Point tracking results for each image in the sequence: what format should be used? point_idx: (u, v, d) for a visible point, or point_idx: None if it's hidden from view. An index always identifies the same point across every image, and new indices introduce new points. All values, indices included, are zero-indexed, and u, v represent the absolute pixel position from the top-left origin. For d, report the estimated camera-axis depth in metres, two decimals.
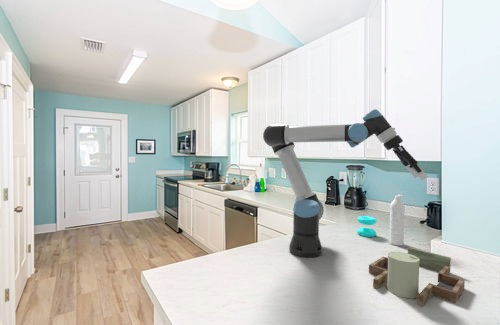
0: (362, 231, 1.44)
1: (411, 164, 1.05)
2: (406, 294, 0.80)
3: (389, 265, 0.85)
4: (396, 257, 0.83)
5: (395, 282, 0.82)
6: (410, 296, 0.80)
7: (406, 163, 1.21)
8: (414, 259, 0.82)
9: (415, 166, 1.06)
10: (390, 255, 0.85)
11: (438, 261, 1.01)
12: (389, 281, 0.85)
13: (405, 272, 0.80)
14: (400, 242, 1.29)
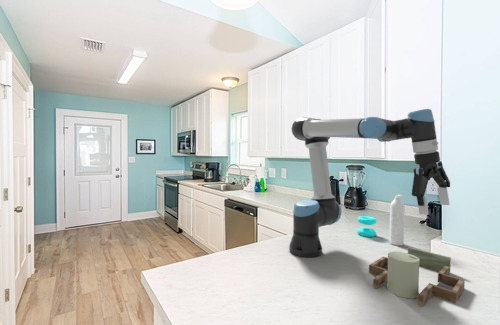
0: (362, 231, 1.44)
1: (412, 194, 0.89)
2: (406, 294, 0.80)
3: (389, 265, 0.85)
4: (396, 257, 0.83)
5: (395, 282, 0.82)
6: (410, 296, 0.80)
7: (442, 184, 0.96)
8: (414, 259, 0.82)
9: (418, 197, 0.89)
10: (390, 255, 0.85)
11: (438, 261, 1.01)
12: (389, 281, 0.85)
13: (405, 272, 0.80)
14: (400, 242, 1.29)
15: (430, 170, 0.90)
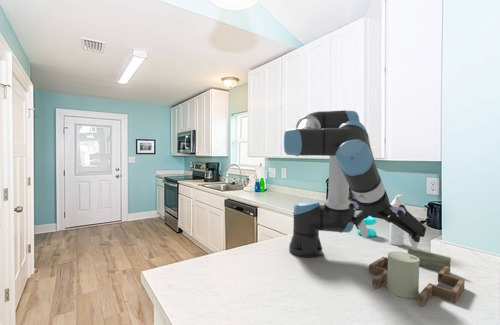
0: None
1: None
2: (406, 294, 0.80)
3: (389, 265, 0.85)
4: (396, 257, 0.83)
5: (395, 282, 0.82)
6: (410, 296, 0.80)
7: None
8: (414, 259, 0.82)
9: None
10: (390, 255, 0.85)
11: (438, 261, 1.01)
12: (389, 281, 0.85)
13: (405, 272, 0.80)
14: (400, 242, 1.29)
15: (366, 212, 0.69)
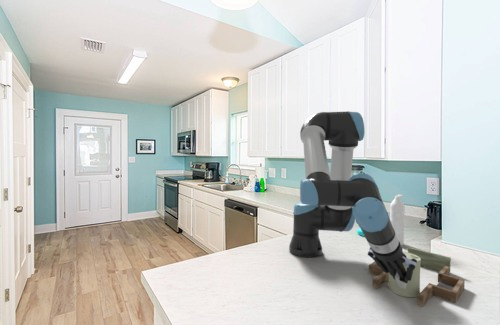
0: None
1: (386, 265, 0.81)
2: (407, 293, 0.81)
3: None
4: None
5: (396, 282, 0.83)
6: (411, 295, 0.81)
7: None
8: (415, 258, 0.83)
9: None
10: None
11: (438, 261, 1.01)
12: (390, 280, 0.85)
13: None
14: (400, 242, 1.29)
15: None
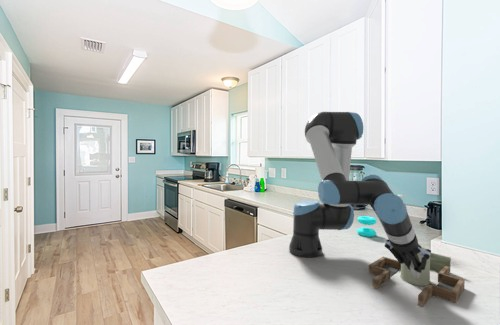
0: (362, 231, 1.44)
1: None
2: (419, 282, 0.88)
3: None
4: None
5: (409, 272, 0.90)
6: (423, 284, 0.88)
7: None
8: None
9: None
10: None
11: (438, 261, 1.01)
12: (403, 271, 0.92)
13: None
14: None
15: None
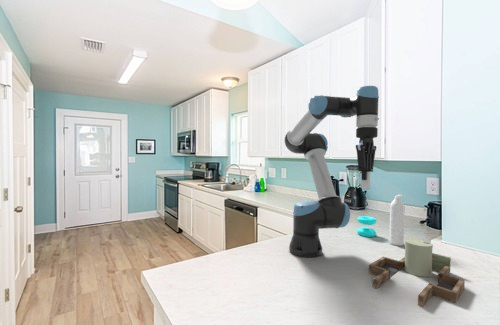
0: (362, 231, 1.44)
1: None
2: (423, 273, 0.95)
3: (407, 250, 0.99)
4: (413, 243, 0.98)
5: (414, 264, 0.97)
6: (427, 275, 0.95)
7: None
8: (428, 244, 0.98)
9: (363, 172, 0.97)
10: (408, 241, 1.00)
11: (438, 261, 1.01)
12: (408, 264, 0.99)
13: (423, 255, 0.95)
14: (400, 242, 1.29)
15: (368, 145, 0.96)
